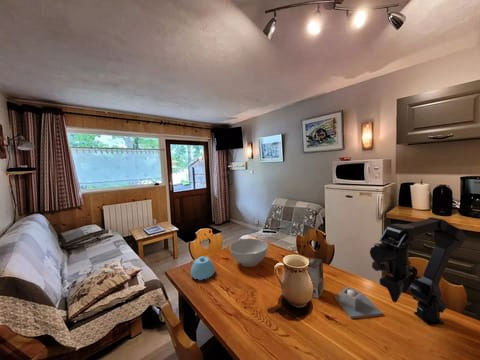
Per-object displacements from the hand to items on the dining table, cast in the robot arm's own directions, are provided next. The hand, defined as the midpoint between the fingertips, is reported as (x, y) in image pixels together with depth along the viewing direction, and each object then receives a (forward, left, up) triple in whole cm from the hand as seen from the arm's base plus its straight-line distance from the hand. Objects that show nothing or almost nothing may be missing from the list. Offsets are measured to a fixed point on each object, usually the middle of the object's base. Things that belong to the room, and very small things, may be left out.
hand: (399, 297), depth 76 cm
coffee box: (+23, -25, -12) cm, 36 cm away
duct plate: (+9, -13, -12) cm, 20 cm away
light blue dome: (+84, -52, -12) cm, 99 cm away
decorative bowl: (+53, -62, -12) cm, 82 cm away
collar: (+11, -14, -11) cm, 21 cm away
